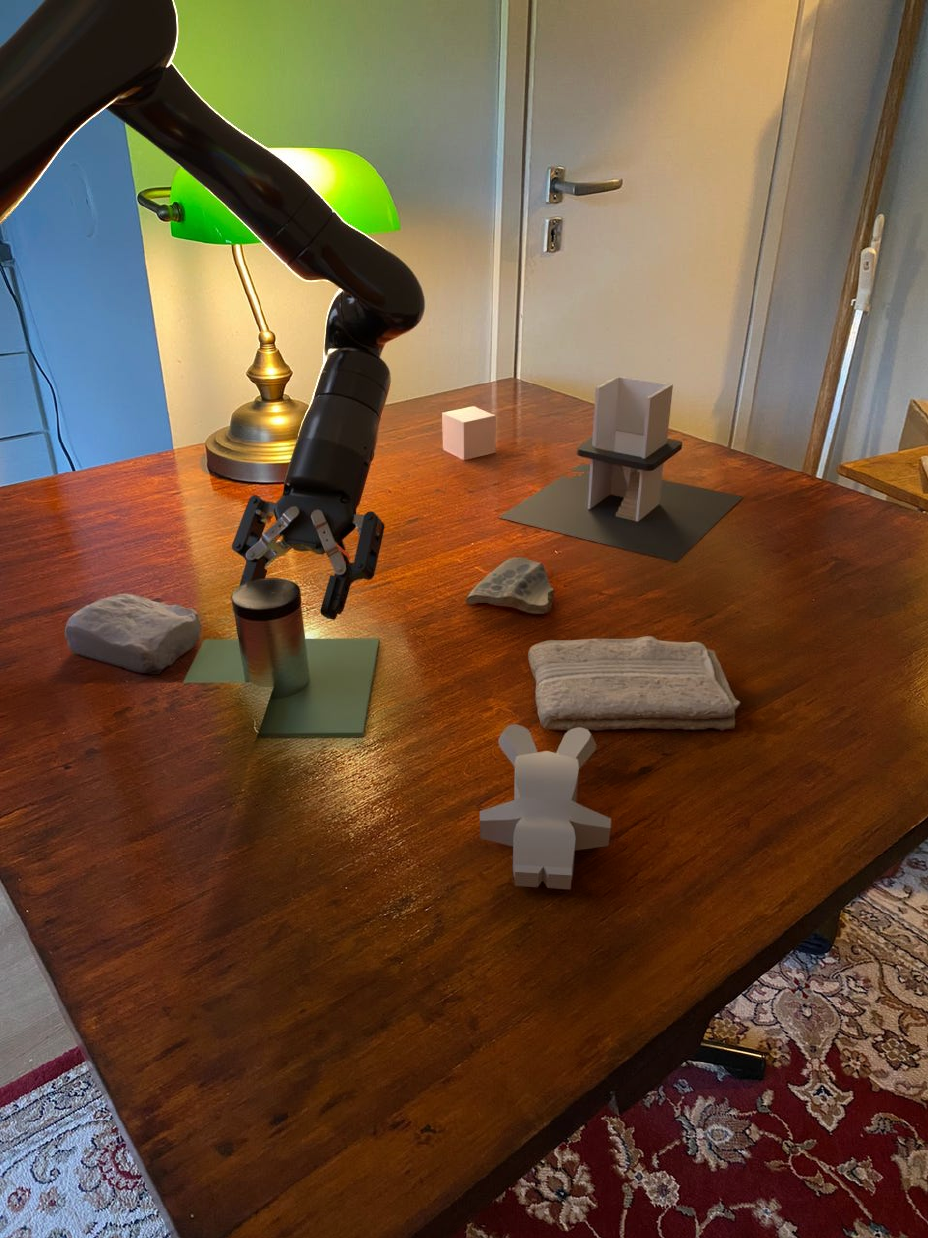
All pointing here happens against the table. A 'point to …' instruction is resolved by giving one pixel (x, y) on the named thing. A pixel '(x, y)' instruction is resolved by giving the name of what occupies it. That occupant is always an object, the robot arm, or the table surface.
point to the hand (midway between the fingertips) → (287, 609)
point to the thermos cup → (272, 635)
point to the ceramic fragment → (516, 587)
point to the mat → (323, 704)
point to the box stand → (627, 480)
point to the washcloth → (630, 685)
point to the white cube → (468, 432)
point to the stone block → (133, 632)
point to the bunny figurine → (545, 809)
